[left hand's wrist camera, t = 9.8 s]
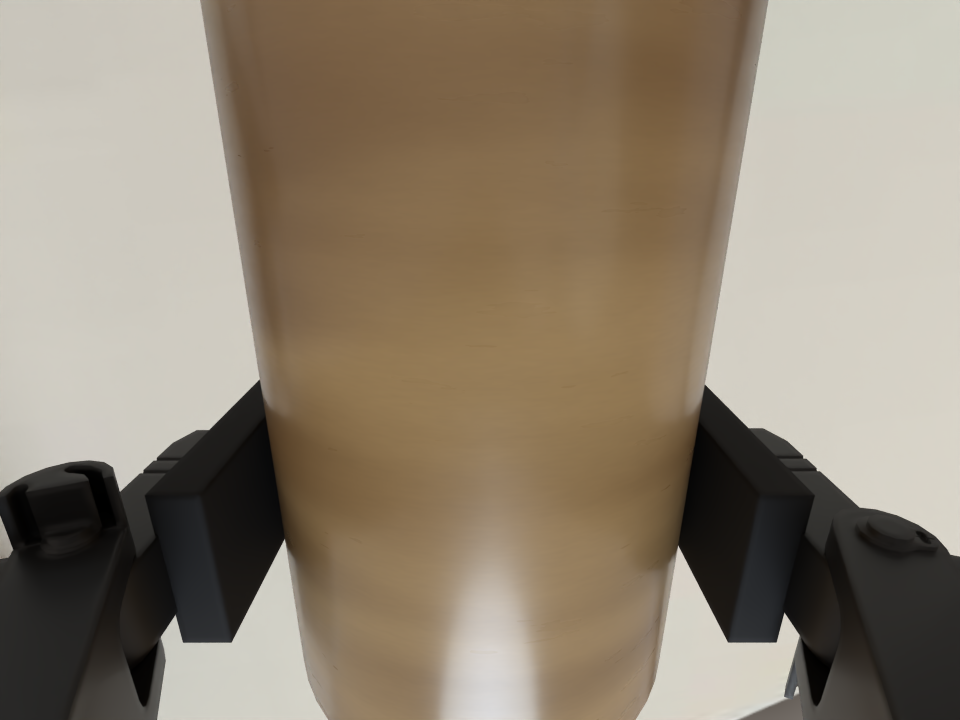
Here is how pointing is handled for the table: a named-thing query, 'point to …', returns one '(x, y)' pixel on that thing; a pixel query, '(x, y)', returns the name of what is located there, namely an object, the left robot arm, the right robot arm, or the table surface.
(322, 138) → the brown cylinder
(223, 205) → the table surface
